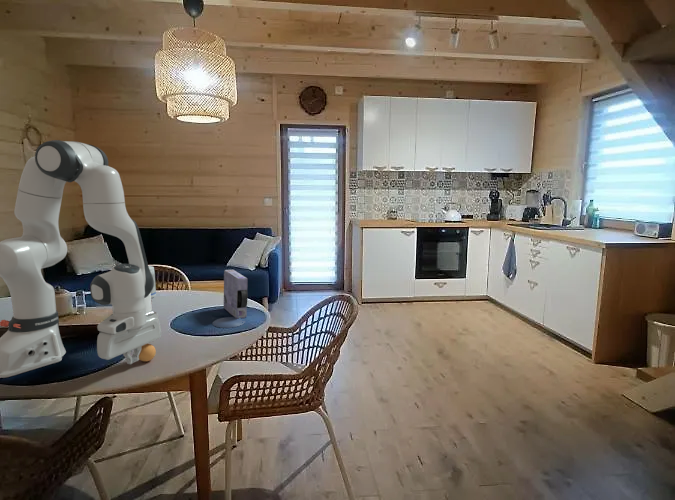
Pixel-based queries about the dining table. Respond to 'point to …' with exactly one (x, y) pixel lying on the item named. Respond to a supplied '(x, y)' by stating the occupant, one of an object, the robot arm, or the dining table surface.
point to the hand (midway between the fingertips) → (132, 362)
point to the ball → (147, 352)
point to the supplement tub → (153, 292)
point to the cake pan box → (235, 293)
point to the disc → (228, 322)
